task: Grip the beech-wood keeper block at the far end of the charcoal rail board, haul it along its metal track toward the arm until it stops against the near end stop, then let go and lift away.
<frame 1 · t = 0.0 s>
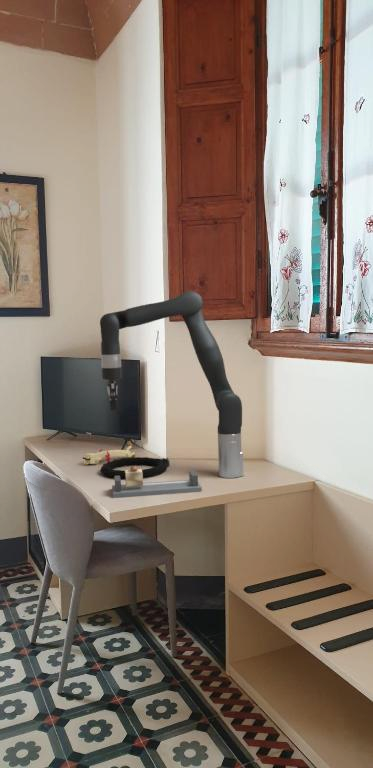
hand: (113, 408, 248), 29 cm above the table, fingers open, 8 cm apart
cable lock: (136, 472, 271), on the table
cat figure: (108, 462, 291), on the table
keeper: (133, 475, 238), point 6 cm above the table, slide at 0.0 cm
rail board: (156, 490, 240), on the table
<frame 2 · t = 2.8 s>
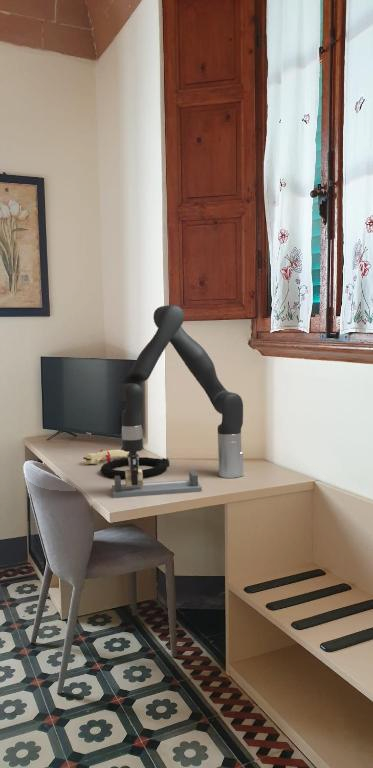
hand: (134, 482, 238), 3 cm above the table, fingers closed on keeper, 5 cm apart
keeper: (133, 475, 238), point 6 cm above the table, slide at 0.0 cm, touching gripper
everything else where it was.
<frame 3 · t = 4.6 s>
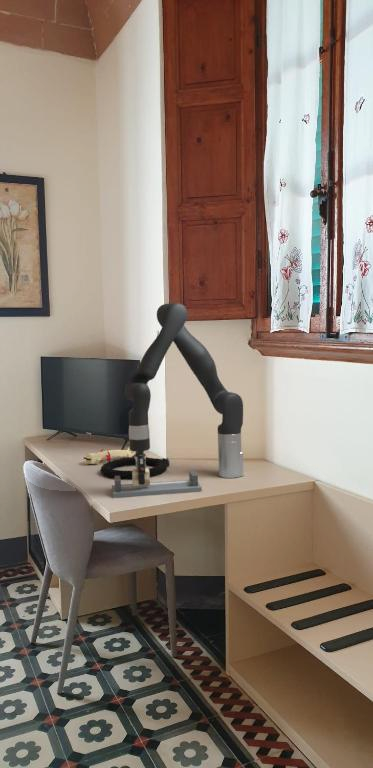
hand: (141, 482, 239), 3 cm above the table, fingers closed on keeper, 5 cm apart
keeper: (140, 475, 239), point 6 cm above the table, slide at 2.6 cm, touching gripper
everything else where it was.
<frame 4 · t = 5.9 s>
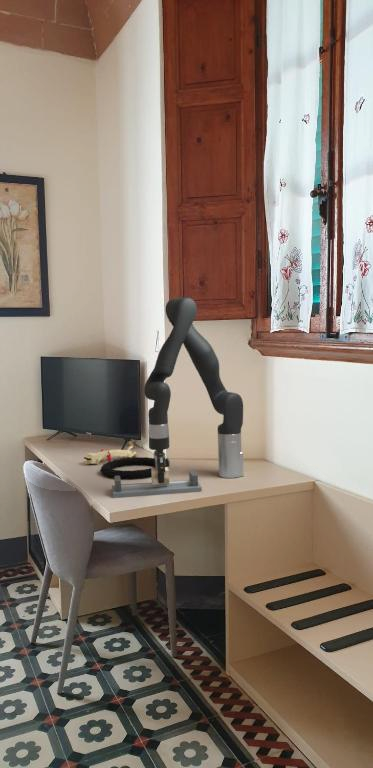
hand: (160, 480, 240), 3 cm above the table, fingers closed on keeper, 5 cm apart
keeper: (160, 473, 240), point 6 cm above the table, slide at 9.7 cm, touching gripper
everything else where it was.
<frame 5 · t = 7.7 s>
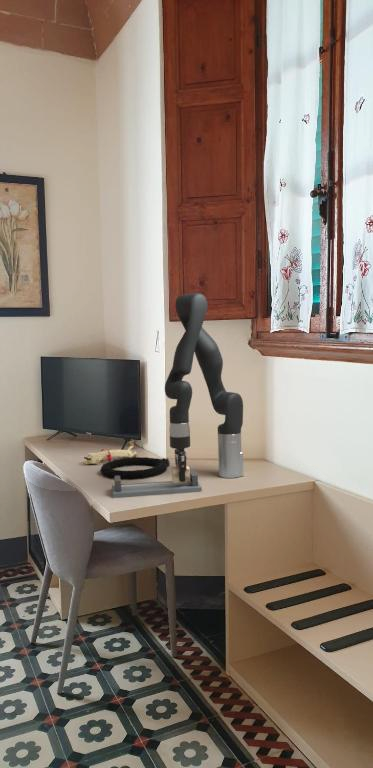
hand: (181, 479, 241), 3 cm above the table, fingers closed on keeper, 5 cm apart
keeper: (181, 472, 241), point 6 cm above the table, slide at 17.4 cm, touching gripper
everything else where it was.
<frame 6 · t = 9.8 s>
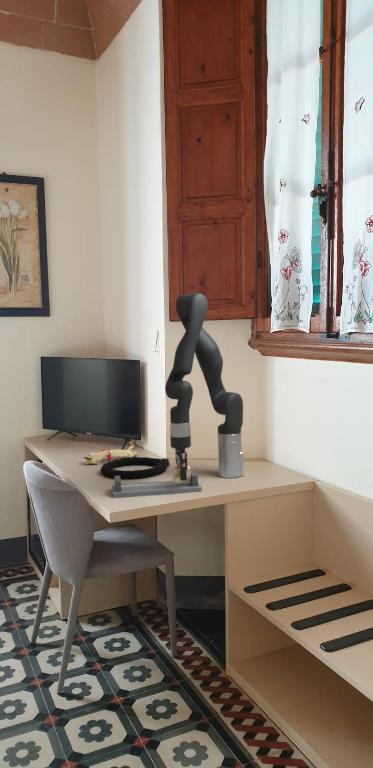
hand: (181, 477, 241), 4 cm above the table, fingers open, 8 cm apart
keeper: (181, 472, 241), point 6 cm above the table, slide at 17.6 cm
everything else where it was.
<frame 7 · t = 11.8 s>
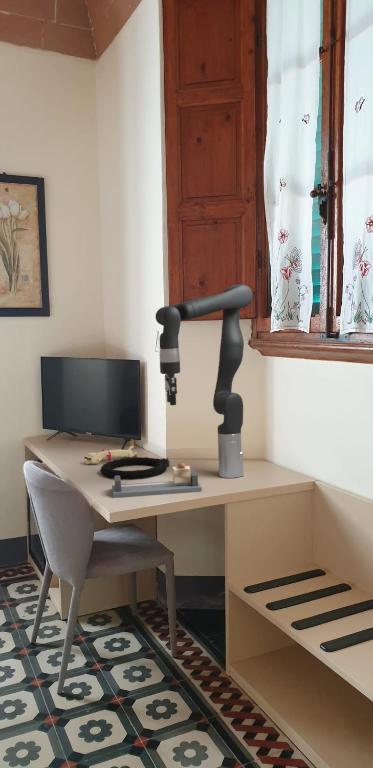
hand: (171, 403, 244), 31 cm above the table, fingers open, 8 cm apart
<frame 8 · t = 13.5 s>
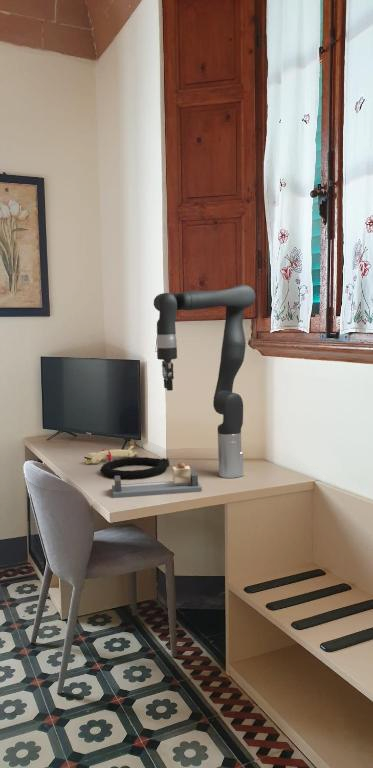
hand: (168, 389, 247), 36 cm above the table, fingers open, 8 cm apart
at the end: keeper slide at 17.6 cm; the gripper is holding nothing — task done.
